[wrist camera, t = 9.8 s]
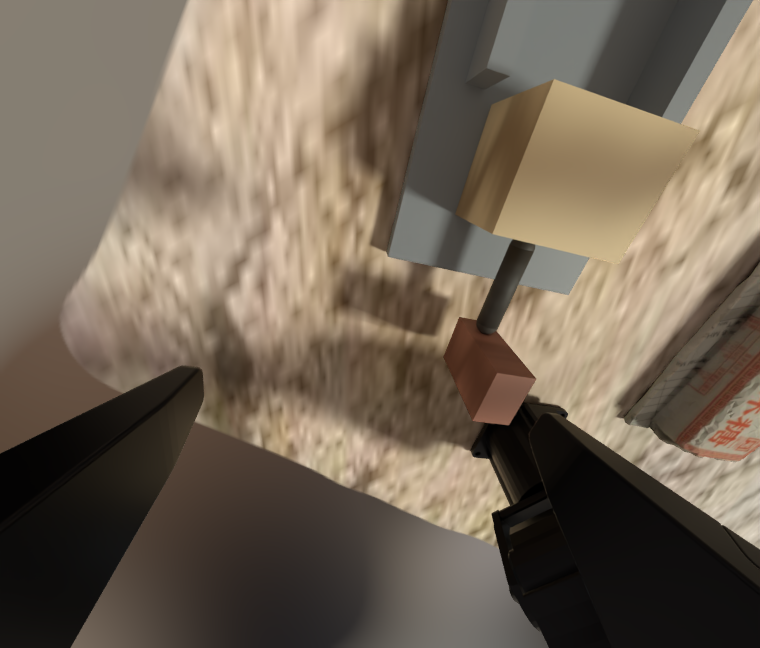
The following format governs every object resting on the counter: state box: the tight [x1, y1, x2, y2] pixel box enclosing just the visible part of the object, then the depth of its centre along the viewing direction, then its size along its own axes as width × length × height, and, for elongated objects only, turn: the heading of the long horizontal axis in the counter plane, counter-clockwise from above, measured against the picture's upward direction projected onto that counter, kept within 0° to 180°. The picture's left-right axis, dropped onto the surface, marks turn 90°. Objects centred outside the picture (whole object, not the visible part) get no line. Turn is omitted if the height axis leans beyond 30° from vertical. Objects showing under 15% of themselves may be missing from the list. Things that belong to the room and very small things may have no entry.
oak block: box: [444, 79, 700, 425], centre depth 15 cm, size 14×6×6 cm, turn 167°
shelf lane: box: [387, 0, 753, 295], centre depth 13 cm, size 20×12×4 cm, turn 167°
